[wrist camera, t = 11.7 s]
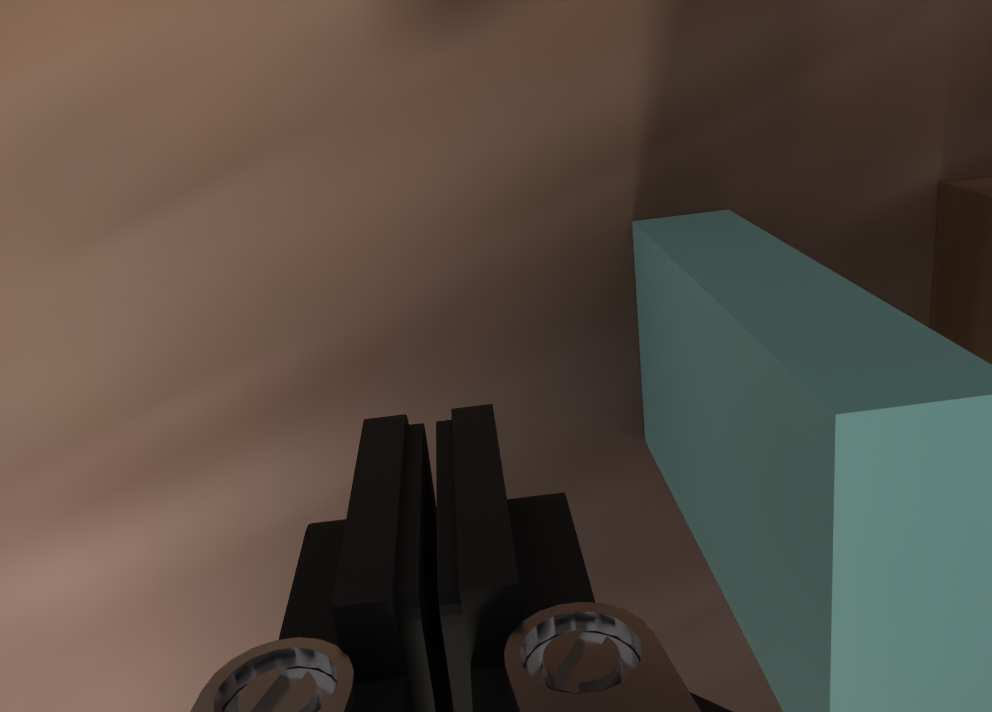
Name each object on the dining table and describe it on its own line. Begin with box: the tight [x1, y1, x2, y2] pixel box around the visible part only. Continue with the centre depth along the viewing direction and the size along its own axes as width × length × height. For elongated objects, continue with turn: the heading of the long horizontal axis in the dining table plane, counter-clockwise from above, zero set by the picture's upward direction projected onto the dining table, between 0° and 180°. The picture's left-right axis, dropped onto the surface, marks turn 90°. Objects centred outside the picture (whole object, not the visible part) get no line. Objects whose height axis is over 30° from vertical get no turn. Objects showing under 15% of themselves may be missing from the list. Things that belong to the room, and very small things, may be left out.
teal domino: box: [632, 209, 992, 712], centre depth 14 cm, size 2×5×10 cm, turn 6°
